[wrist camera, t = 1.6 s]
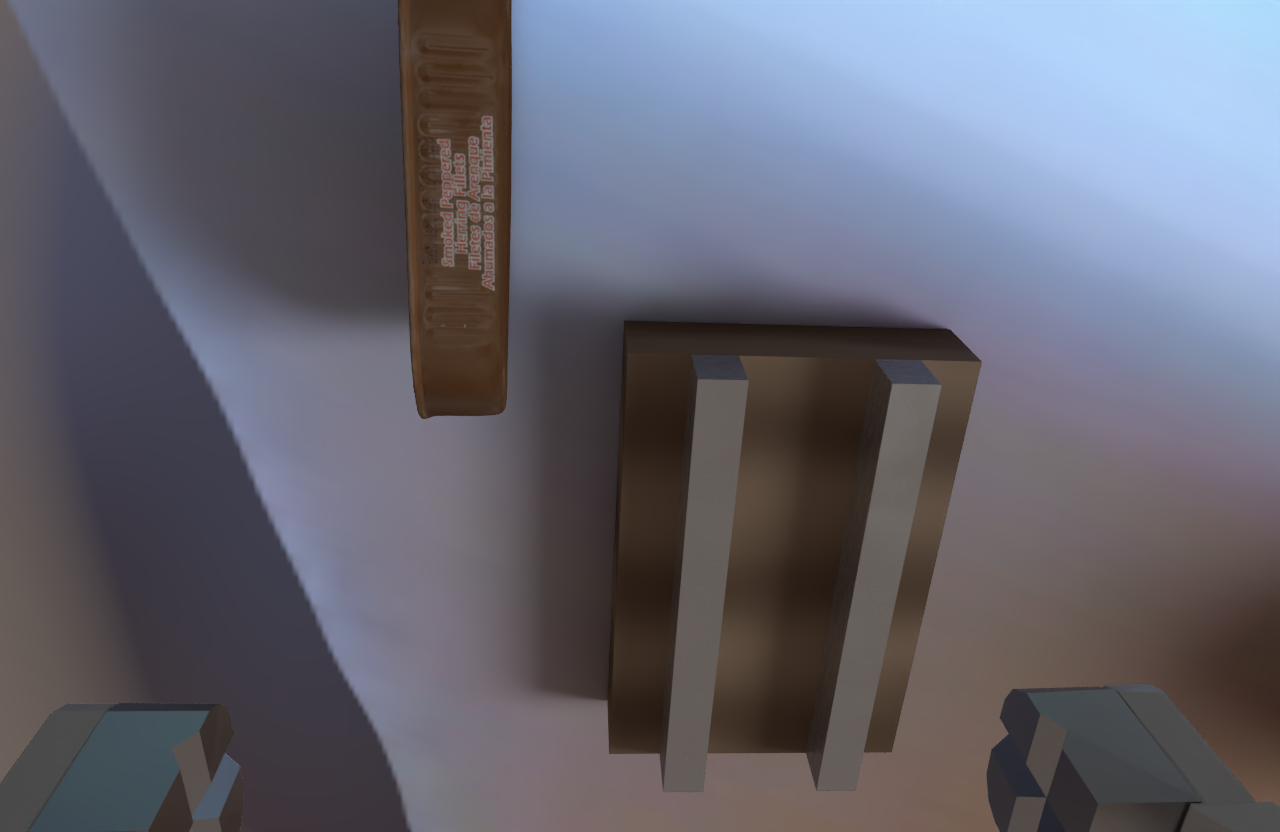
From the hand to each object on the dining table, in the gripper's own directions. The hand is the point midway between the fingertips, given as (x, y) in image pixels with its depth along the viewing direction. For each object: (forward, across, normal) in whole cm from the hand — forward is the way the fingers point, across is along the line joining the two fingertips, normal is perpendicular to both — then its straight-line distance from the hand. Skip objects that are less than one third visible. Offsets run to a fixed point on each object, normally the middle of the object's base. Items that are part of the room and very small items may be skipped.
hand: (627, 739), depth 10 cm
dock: (+24, -7, +13) cm, 28 cm away
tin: (+24, +4, -2) cm, 25 cm away
